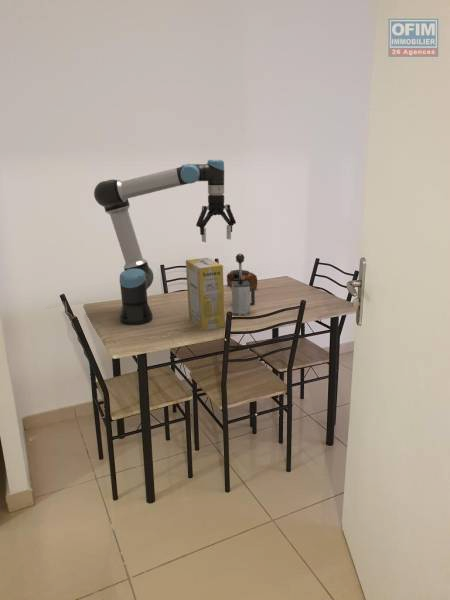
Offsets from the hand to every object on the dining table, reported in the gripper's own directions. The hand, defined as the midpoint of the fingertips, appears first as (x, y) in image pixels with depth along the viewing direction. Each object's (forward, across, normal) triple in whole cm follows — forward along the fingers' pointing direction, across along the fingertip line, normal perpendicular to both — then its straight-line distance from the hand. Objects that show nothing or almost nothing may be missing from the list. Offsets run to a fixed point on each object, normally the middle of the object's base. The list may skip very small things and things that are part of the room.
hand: (216, 240), depth 220 cm
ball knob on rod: (+20, +7, -11) cm, 24 cm away
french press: (+34, +14, +1) cm, 37 cm away
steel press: (+34, +8, -12) cm, 37 cm away
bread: (+34, +32, +27) cm, 54 cm away
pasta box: (+35, -13, -13) cm, 40 cm away
